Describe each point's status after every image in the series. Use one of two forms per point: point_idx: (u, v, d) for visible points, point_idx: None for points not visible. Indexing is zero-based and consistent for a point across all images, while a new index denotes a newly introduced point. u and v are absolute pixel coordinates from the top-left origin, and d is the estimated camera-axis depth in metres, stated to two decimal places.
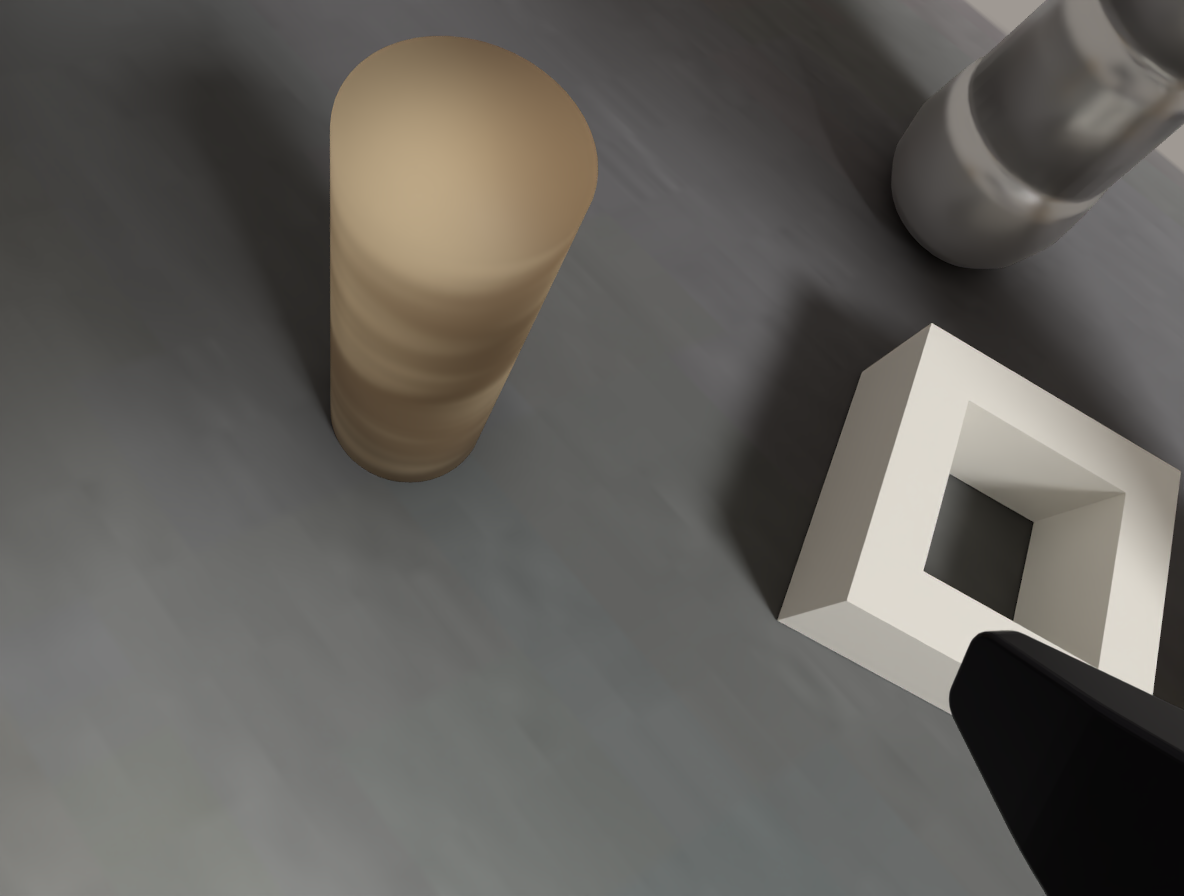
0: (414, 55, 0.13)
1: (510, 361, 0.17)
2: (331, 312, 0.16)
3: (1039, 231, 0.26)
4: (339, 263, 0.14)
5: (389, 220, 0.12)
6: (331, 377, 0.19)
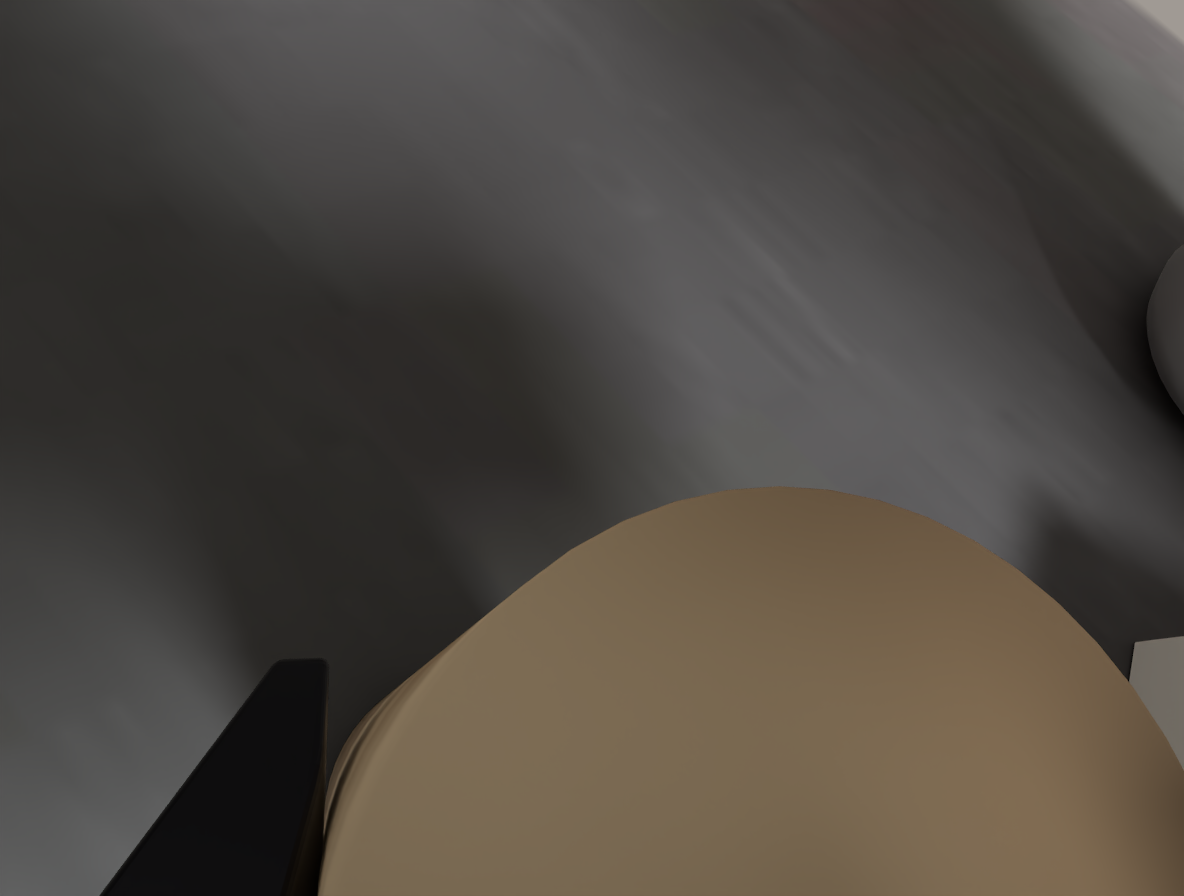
0: (624, 608, 0.03)
1: None
2: None
3: None
4: None
5: None
6: None
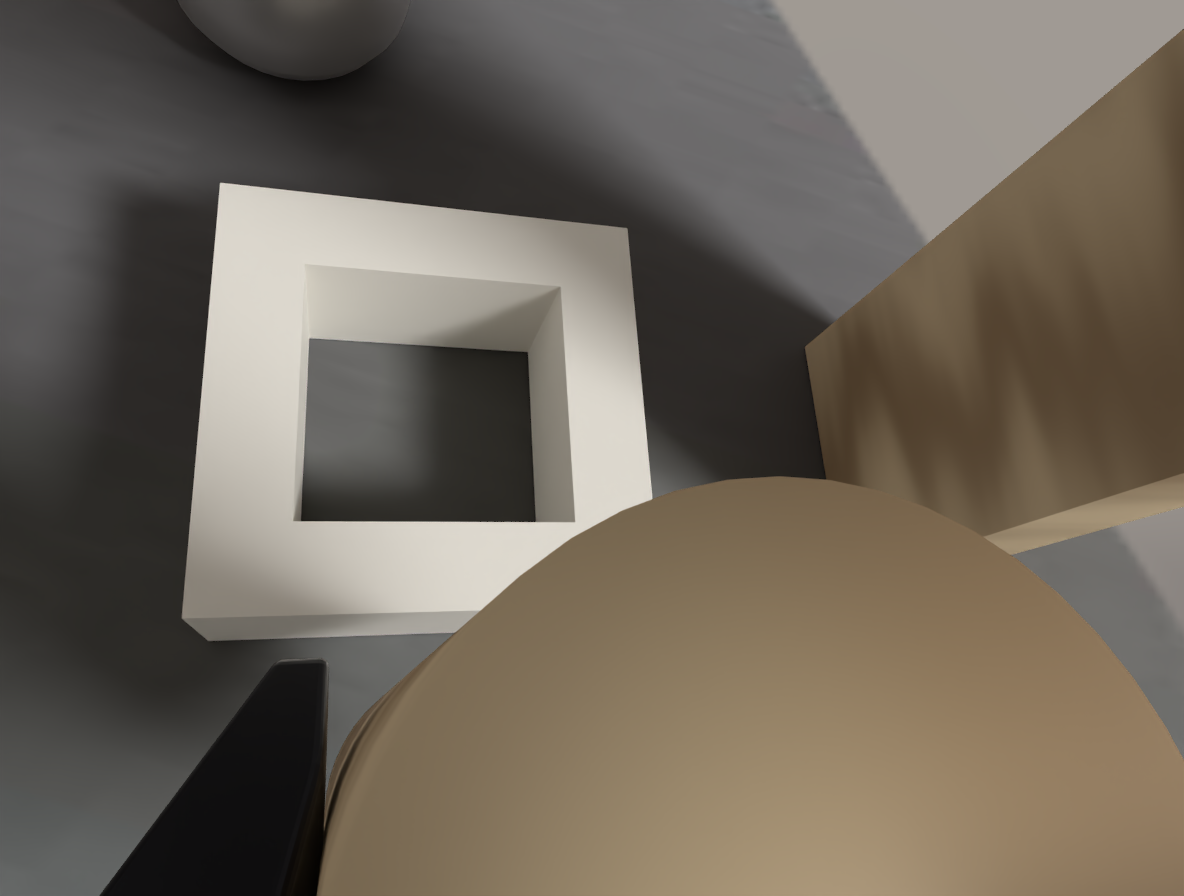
0: (626, 595, 0.03)
1: None
2: None
3: None
4: None
5: None
6: None
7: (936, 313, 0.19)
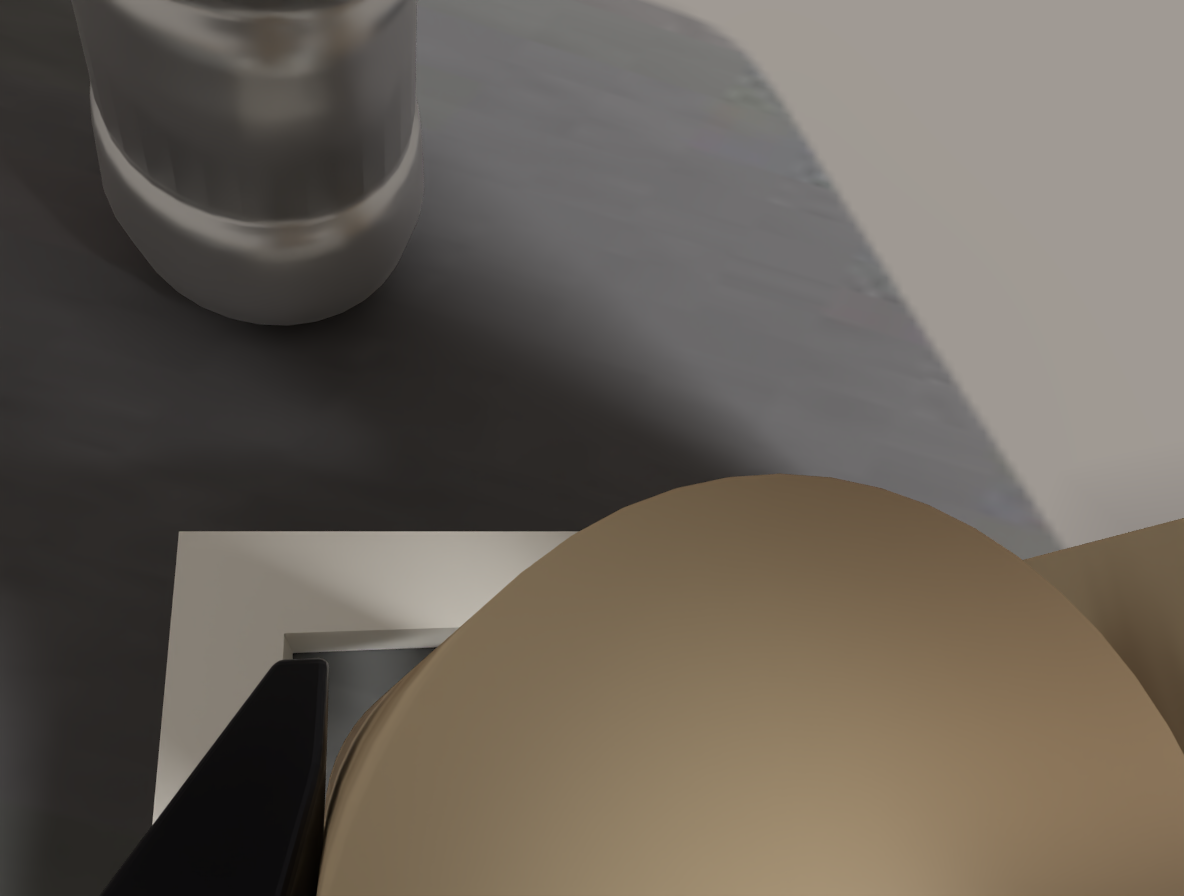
0: (626, 593, 0.03)
1: None
2: None
3: (343, 259, 0.16)
4: None
5: None
6: None
7: None
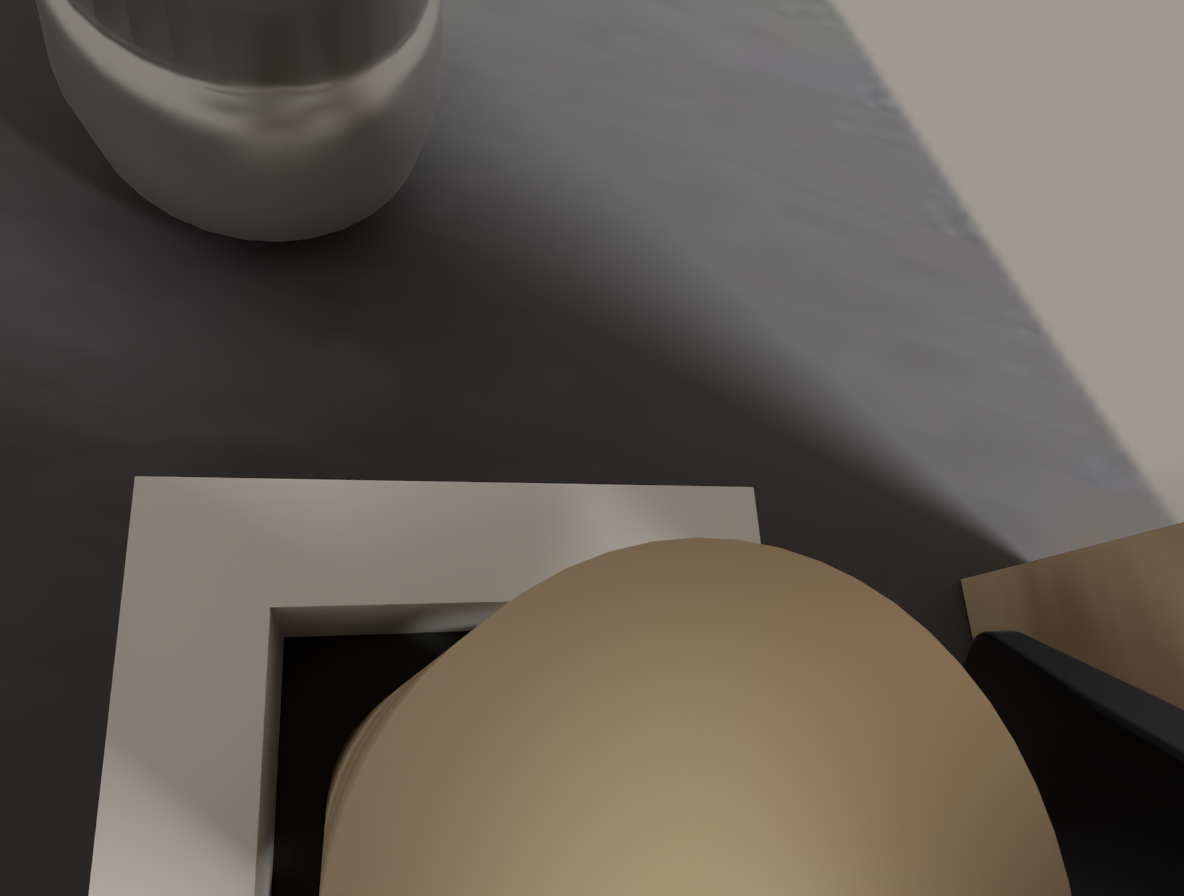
0: (566, 637, 0.04)
1: None
2: None
3: (345, 148, 0.13)
4: None
5: None
6: None
7: None
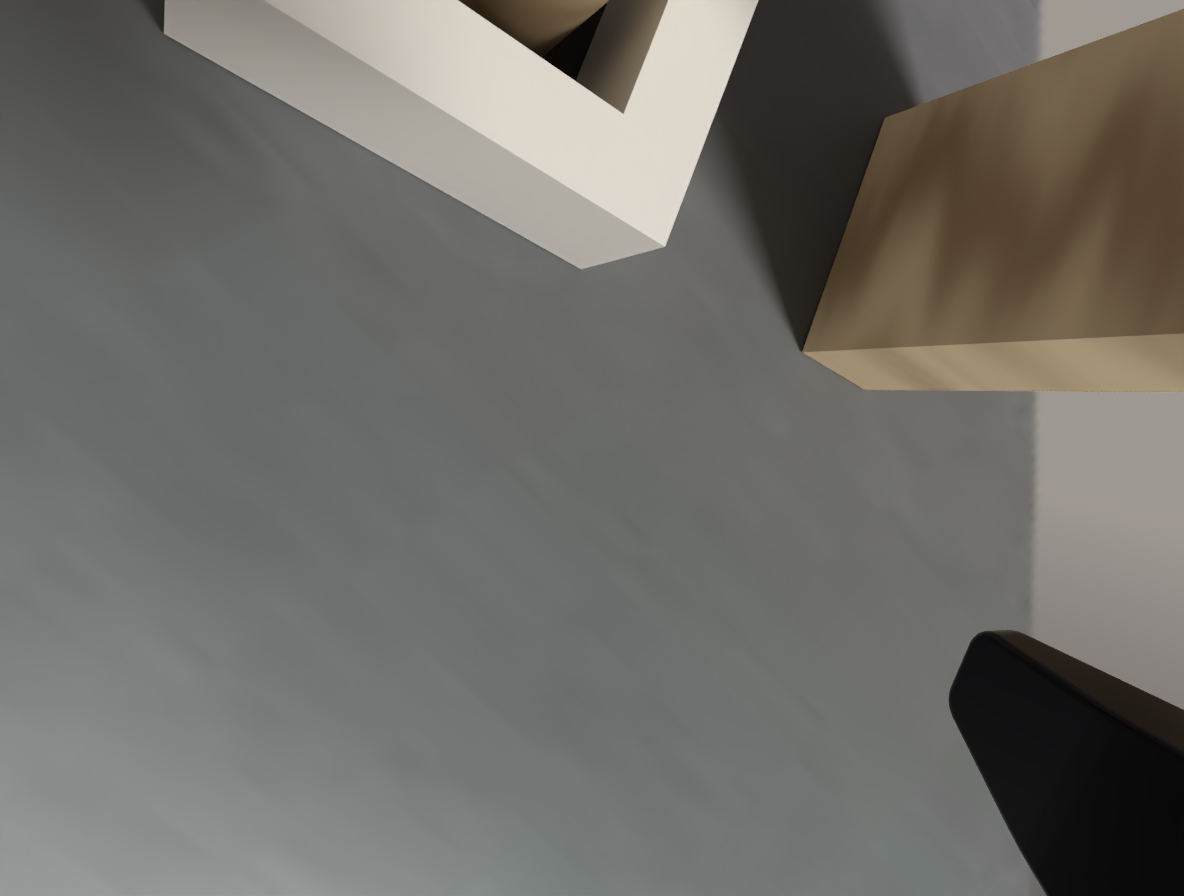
0: None
1: None
2: None
3: None
4: None
5: None
6: None
7: (1056, 117, 0.18)
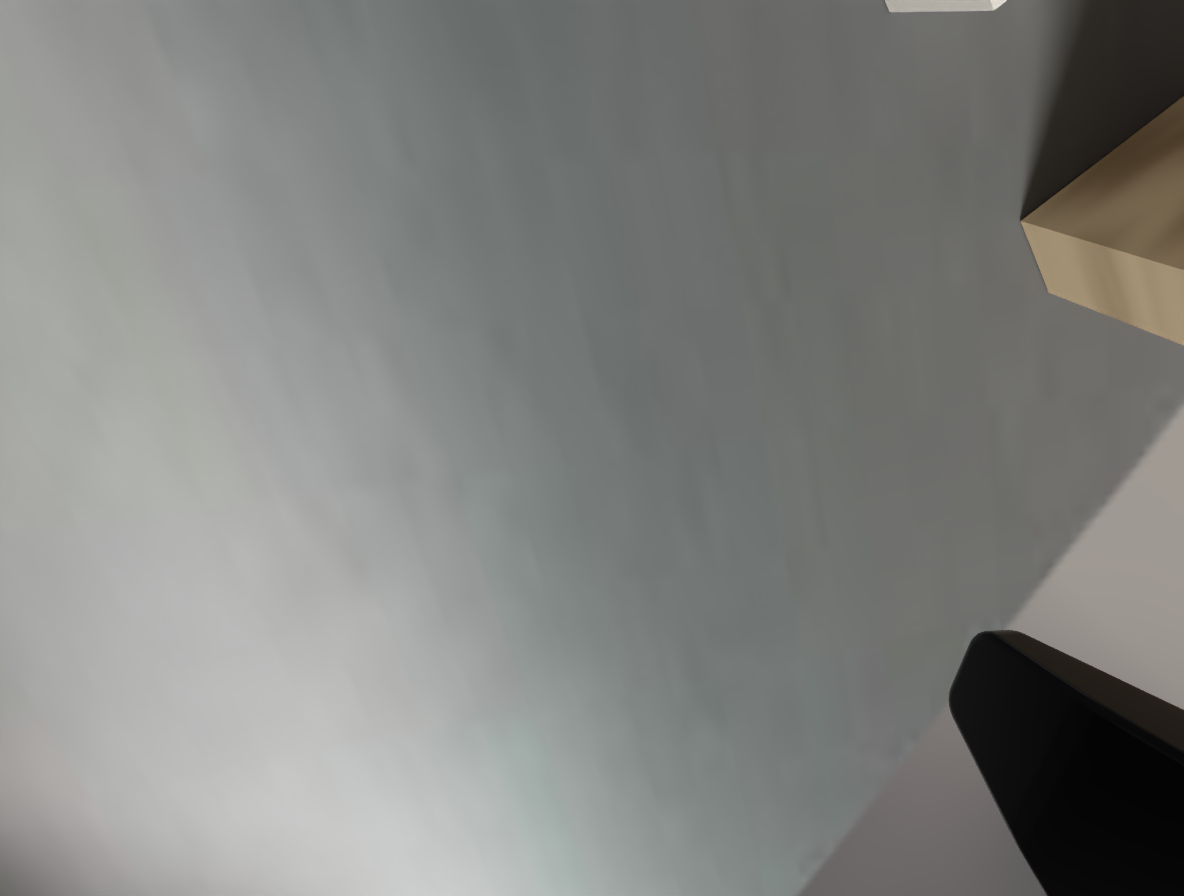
0: None
1: None
2: None
3: None
4: None
5: None
6: None
7: None
